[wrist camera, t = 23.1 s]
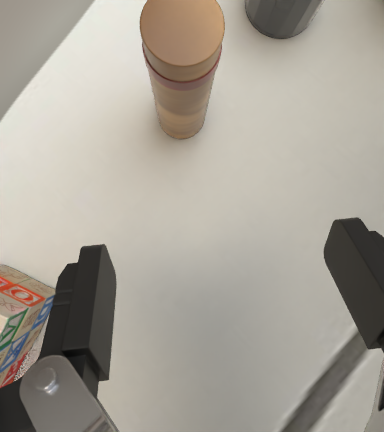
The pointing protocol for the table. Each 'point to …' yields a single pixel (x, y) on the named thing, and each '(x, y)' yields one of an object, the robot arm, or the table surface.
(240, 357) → the table surface
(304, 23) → the cup
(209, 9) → the red-banded tan cylinder
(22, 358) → the stack of blocks
